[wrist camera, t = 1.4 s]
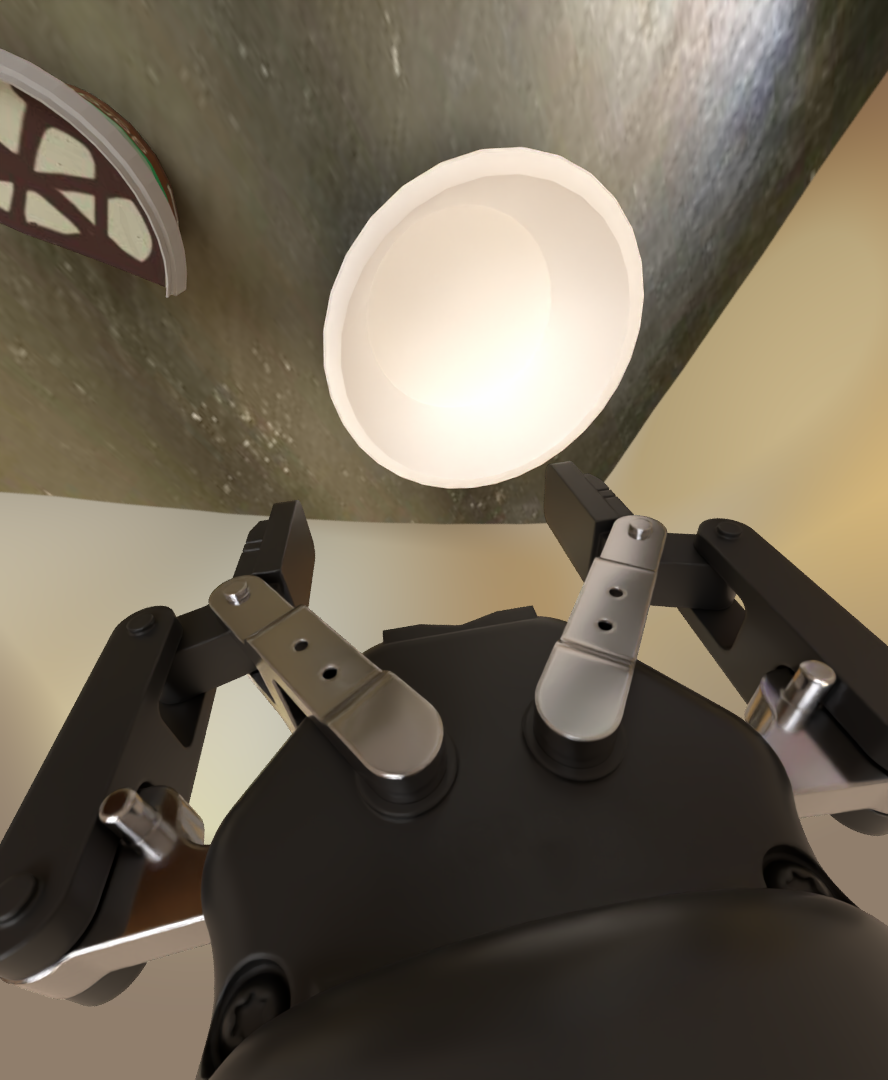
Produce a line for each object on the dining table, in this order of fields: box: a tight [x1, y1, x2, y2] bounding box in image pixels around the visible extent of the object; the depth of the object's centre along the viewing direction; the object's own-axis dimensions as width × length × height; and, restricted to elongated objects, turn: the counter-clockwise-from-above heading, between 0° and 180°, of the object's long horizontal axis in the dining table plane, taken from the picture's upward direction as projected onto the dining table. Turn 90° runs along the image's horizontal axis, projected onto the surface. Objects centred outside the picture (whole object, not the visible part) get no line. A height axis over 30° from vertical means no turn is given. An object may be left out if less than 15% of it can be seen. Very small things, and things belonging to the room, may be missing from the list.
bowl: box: [323, 147, 644, 488], centre depth 34 cm, size 22×22×8 cm
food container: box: [0, 48, 187, 298], centre depth 21 cm, size 12×6×10 cm, turn 60°
